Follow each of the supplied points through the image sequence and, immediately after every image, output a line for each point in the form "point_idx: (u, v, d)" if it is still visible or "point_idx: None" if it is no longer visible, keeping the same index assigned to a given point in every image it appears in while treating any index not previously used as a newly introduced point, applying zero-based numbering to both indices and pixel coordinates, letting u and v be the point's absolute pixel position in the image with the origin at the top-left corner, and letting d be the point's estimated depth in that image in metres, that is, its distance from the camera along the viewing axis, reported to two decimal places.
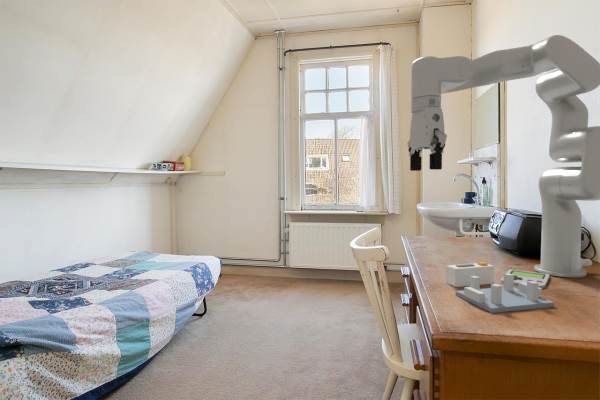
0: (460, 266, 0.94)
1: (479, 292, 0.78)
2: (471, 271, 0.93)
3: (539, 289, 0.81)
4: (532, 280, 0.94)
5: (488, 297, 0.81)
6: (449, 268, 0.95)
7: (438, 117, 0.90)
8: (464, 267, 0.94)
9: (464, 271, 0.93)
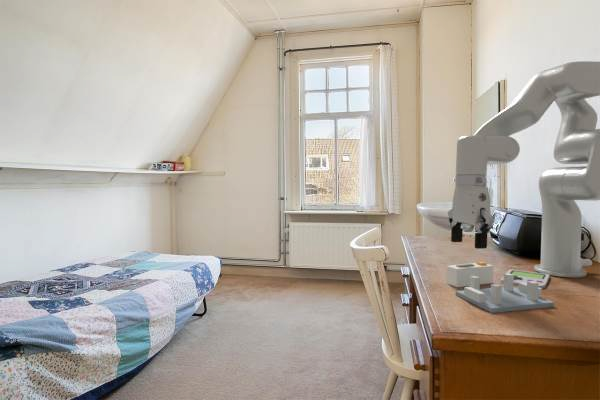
0: (461, 266, 0.94)
1: (479, 292, 0.78)
2: (472, 271, 0.93)
3: (539, 289, 0.81)
4: (532, 280, 0.94)
5: (488, 297, 0.81)
6: (450, 268, 0.94)
7: (484, 196, 0.90)
8: (465, 267, 0.94)
9: (465, 271, 0.93)
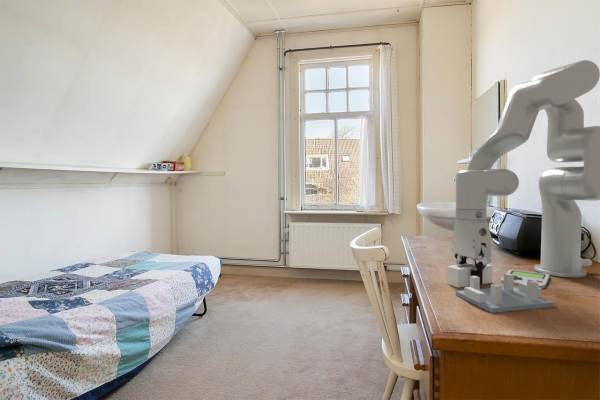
0: (461, 266, 0.94)
1: (479, 292, 0.78)
2: None
3: (539, 289, 0.81)
4: (532, 280, 0.94)
5: (488, 297, 0.81)
6: (451, 269, 0.94)
7: (485, 231, 0.91)
8: (465, 267, 0.93)
9: (465, 271, 0.93)
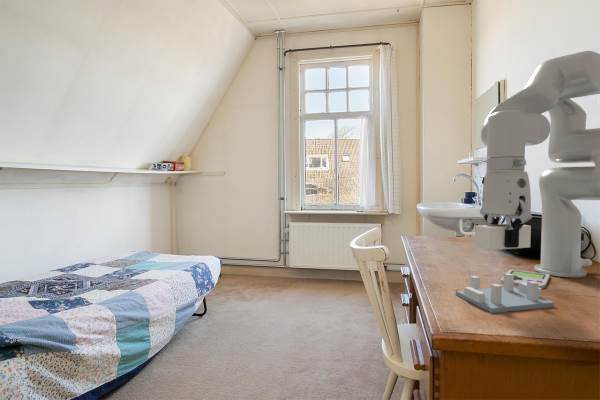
0: (493, 225, 0.79)
1: (479, 292, 0.78)
2: None
3: (539, 289, 0.81)
4: (532, 280, 0.94)
5: (488, 297, 0.81)
6: (480, 228, 0.79)
7: (523, 182, 0.76)
8: (498, 226, 0.78)
9: (498, 230, 0.78)
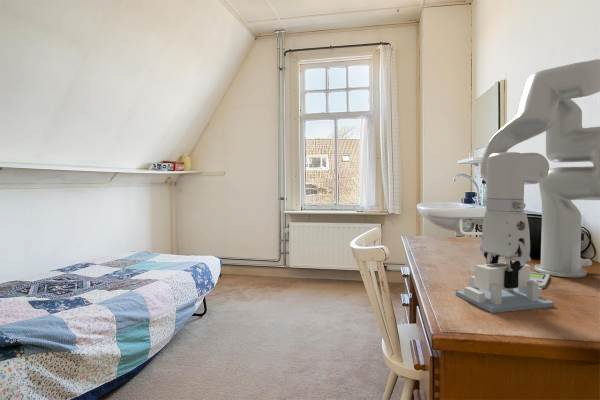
0: (493, 266, 0.80)
1: (479, 292, 0.78)
2: None
3: (539, 289, 0.81)
4: (532, 280, 0.94)
5: (488, 297, 0.81)
6: (480, 268, 0.80)
7: (523, 224, 0.77)
8: (498, 267, 0.79)
9: (498, 272, 0.78)
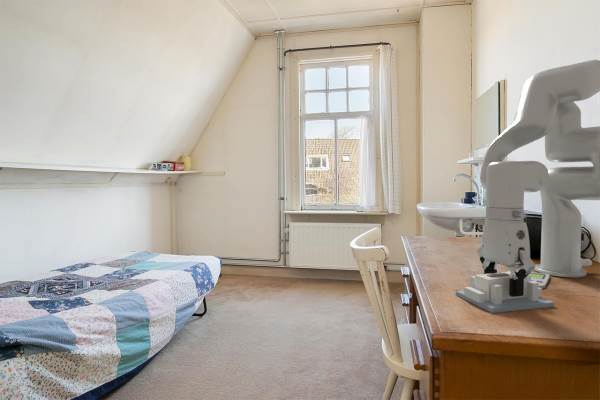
0: (493, 276, 0.80)
1: (479, 292, 0.78)
2: (506, 281, 0.79)
3: (539, 289, 0.81)
4: (532, 280, 0.94)
5: None
6: (480, 278, 0.80)
7: (522, 233, 0.77)
8: (498, 277, 0.79)
9: (498, 282, 0.79)
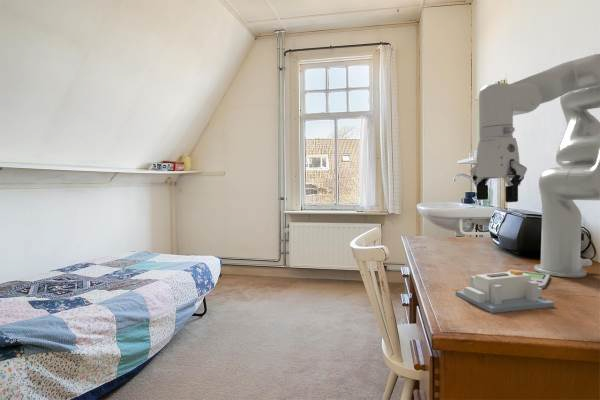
0: (493, 276, 0.80)
1: (479, 292, 0.78)
2: (506, 281, 0.79)
3: (539, 289, 0.81)
4: (532, 280, 0.94)
5: None
6: (480, 278, 0.80)
7: (512, 147, 0.86)
8: (498, 277, 0.79)
9: (498, 282, 0.79)
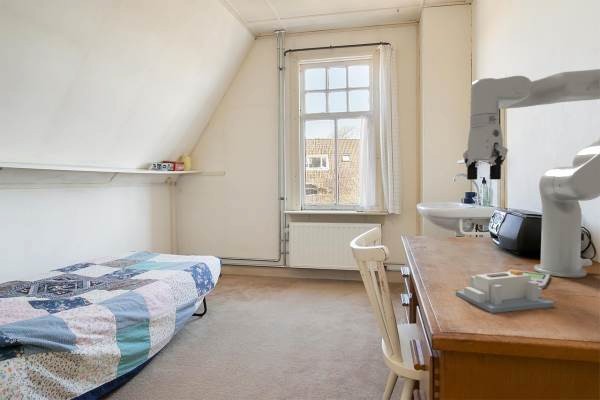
0: (493, 276, 0.80)
1: (479, 292, 0.78)
2: (506, 281, 0.79)
3: (539, 289, 0.81)
4: (532, 280, 0.94)
5: None
6: (480, 278, 0.80)
7: (497, 132, 1.00)
8: (498, 277, 0.79)
9: (498, 282, 0.79)
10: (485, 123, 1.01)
